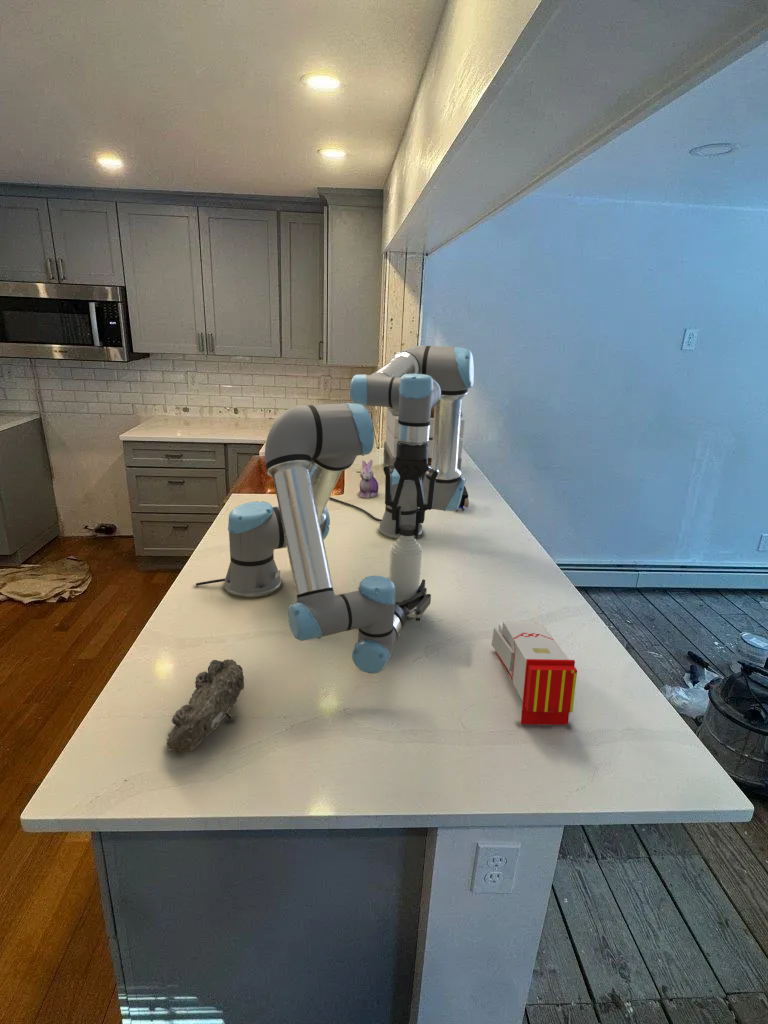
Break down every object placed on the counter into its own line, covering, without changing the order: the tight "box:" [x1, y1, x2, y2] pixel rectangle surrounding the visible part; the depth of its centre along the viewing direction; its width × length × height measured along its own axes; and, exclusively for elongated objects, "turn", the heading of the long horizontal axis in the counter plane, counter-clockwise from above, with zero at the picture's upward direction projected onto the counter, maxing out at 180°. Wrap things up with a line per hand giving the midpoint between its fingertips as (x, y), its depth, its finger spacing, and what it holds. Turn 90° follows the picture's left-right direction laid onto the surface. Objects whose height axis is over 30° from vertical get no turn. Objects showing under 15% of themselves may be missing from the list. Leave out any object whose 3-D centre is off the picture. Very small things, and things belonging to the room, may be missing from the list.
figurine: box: [358, 459, 380, 499], centre depth 237 cm, size 9×10×15 cm
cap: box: [399, 524, 415, 536], centre depth 141 cm, size 4×4×2 cm
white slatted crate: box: [383, 407, 465, 472], centre depth 268 cm, size 34×33×41 cm
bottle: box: [388, 535, 423, 619], centre depth 145 cm, size 8×8×23 cm
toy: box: [491, 621, 578, 726], centre depth 121 cm, size 12×13×30 cm
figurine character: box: [455, 485, 470, 512], centre depth 229 cm, size 7×8×15 cm
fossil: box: [166, 658, 245, 754], centre depth 106 cm, size 22×10×15 cm
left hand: (407, 581), depth 151 cm, fingers closed on bottle, 8 cm apart
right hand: (407, 533), depth 142 cm, fingers closed on cap, 4 cm apart
